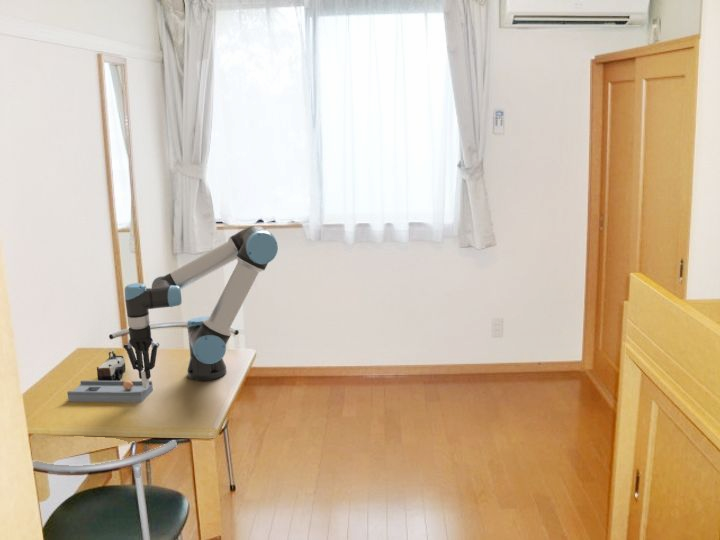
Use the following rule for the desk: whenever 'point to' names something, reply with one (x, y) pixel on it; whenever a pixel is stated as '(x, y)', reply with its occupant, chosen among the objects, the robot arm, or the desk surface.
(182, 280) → the robot arm
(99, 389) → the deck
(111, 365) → the camera
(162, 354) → the desk surface
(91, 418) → the desk surface
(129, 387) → the ball
